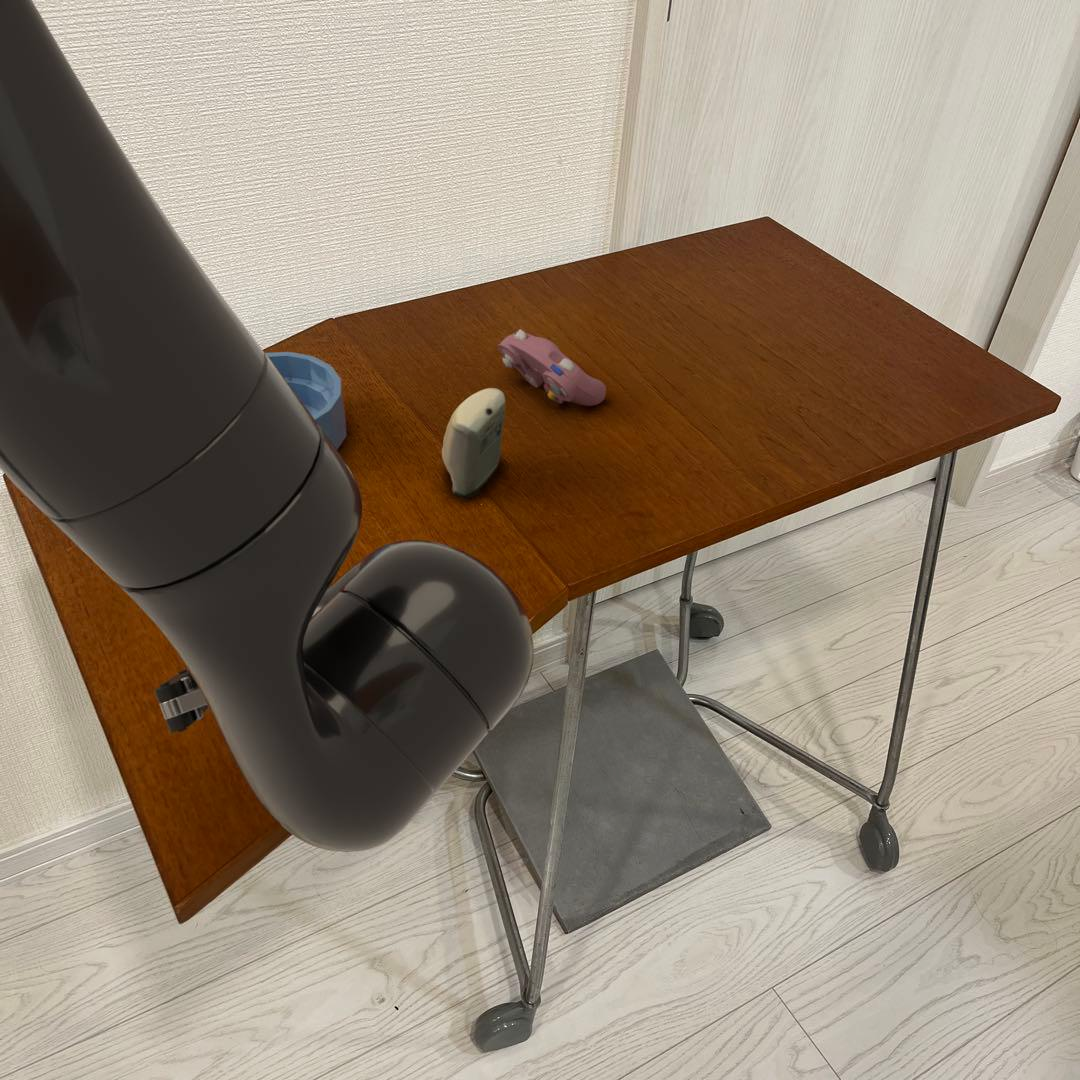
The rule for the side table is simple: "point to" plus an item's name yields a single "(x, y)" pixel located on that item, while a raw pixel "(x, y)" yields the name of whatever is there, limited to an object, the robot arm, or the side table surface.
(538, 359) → the video game controller
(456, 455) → the cream rounded block
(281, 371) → the bowl
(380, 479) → the side table surface
